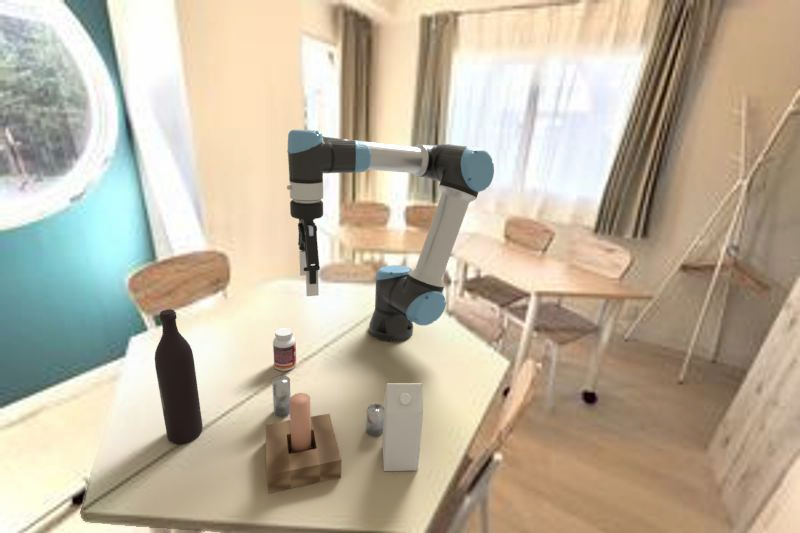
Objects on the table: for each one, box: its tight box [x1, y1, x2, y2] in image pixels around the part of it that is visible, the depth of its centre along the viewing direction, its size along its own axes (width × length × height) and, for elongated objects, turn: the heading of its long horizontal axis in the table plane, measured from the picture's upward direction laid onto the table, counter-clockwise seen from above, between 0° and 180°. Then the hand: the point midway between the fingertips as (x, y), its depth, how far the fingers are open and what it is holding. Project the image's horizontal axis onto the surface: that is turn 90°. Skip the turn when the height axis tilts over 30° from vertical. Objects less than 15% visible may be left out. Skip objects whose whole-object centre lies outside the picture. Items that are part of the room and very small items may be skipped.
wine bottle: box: [154, 308, 204, 445], centre depth 87 cm, size 7×7×30 cm
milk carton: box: [381, 382, 424, 472], centre depth 85 cm, size 7×7×19 cm
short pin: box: [365, 403, 384, 438], centre depth 95 cm, size 4×4×6 cm
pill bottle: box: [272, 327, 297, 372], centre depth 117 cm, size 6×6×11 cm
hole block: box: [264, 413, 342, 494], centre depth 86 cm, size 14×14×4 cm
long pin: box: [289, 392, 312, 454], centre depth 84 cm, size 4×4×15 cm
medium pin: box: [271, 375, 292, 418], centre depth 98 cm, size 4×4×9 cm
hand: (308, 284), depth 102 cm, fingers open, 13 cm apart
